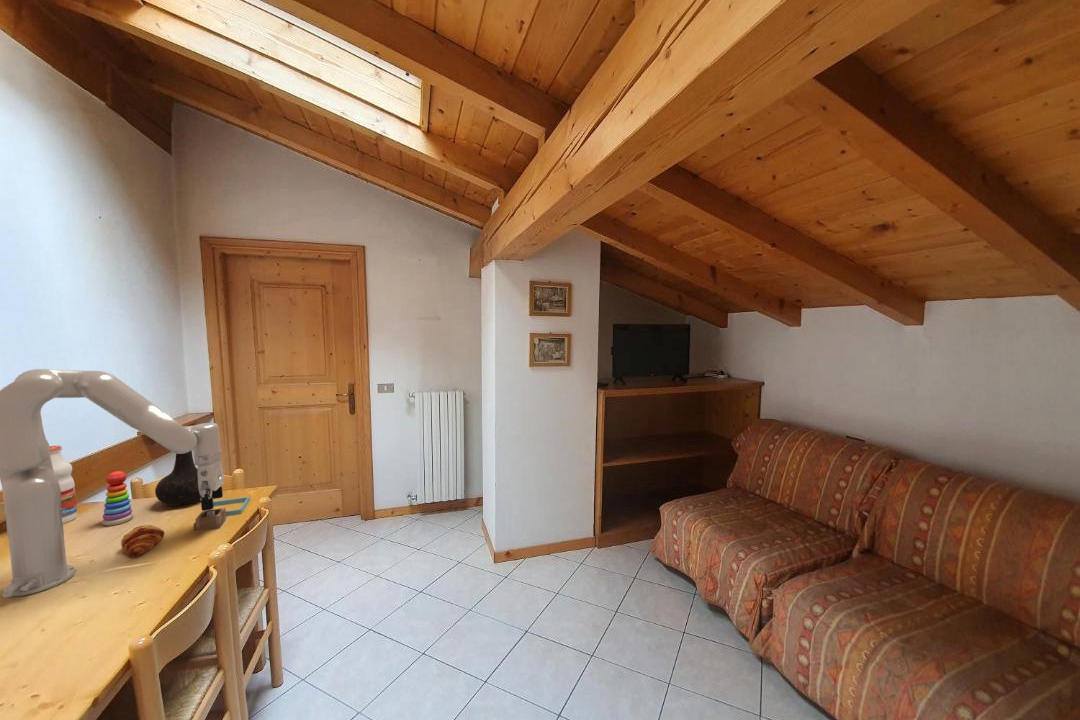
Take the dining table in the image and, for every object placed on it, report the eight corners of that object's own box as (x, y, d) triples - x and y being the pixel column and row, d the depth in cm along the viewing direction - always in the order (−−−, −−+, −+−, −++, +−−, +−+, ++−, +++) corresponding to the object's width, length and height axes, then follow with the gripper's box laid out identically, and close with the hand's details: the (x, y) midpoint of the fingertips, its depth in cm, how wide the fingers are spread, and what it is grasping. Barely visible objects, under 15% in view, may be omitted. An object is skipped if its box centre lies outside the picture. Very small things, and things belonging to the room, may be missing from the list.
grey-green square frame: (241, 515, 153) (241, 509, 153) (200, 521, 148) (200, 515, 148) (250, 501, 165) (250, 496, 164) (212, 506, 160) (212, 501, 159)
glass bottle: (149, 514, 153) (143, 443, 150) (165, 496, 168) (160, 432, 166) (208, 505, 161) (204, 437, 159) (218, 488, 177) (214, 427, 174)
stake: (220, 529, 142) (219, 514, 142) (195, 533, 140) (194, 518, 139) (228, 518, 151) (227, 504, 150) (205, 521, 148) (204, 507, 147)
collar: (220, 527, 142) (219, 515, 142) (191, 532, 139) (190, 520, 139) (226, 519, 149) (225, 507, 148) (198, 523, 145) (197, 511, 145)
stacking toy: (117, 526, 143) (113, 476, 142) (95, 526, 144) (91, 476, 142) (139, 516, 151) (135, 468, 150) (119, 515, 151) (115, 468, 150)
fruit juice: (43, 519, 148) (36, 446, 145) (81, 512, 153) (74, 442, 151) (32, 530, 140) (24, 453, 138) (72, 522, 146) (65, 448, 143)
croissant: (137, 544, 139) (120, 528, 136) (170, 523, 144) (155, 507, 141) (126, 572, 122) (106, 555, 119) (165, 548, 127) (147, 530, 125)
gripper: (212, 464, 136) (217, 512, 138) (228, 449, 151) (232, 492, 153) (184, 467, 133) (189, 516, 135) (204, 451, 148) (208, 495, 150)
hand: (212, 503), depth 144 cm, fingers open, 9 cm apart
